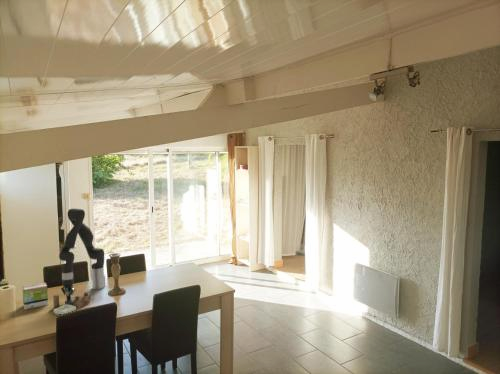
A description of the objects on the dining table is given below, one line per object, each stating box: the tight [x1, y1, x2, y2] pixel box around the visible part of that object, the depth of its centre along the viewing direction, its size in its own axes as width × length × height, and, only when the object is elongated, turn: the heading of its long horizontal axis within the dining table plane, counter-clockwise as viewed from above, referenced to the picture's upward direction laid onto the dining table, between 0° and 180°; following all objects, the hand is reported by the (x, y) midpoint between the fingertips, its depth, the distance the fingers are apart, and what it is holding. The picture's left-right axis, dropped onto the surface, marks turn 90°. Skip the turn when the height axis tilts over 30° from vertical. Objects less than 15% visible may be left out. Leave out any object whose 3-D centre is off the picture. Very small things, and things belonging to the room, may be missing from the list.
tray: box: [53, 303, 77, 315], centre depth 255 cm, size 10×10×3 cm
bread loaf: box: [52, 294, 61, 309], centre depth 262 cm, size 4×4×9 cm
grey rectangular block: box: [64, 296, 75, 306], centre depth 269 cm, size 10×7×4 cm
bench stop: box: [74, 291, 91, 310], centre depth 266 cm, size 12×3×8 cm, turn 157°
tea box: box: [22, 282, 49, 310], centre depth 266 cm, size 15×10×15 cm
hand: (68, 300), depth 271 cm, fingers closed
